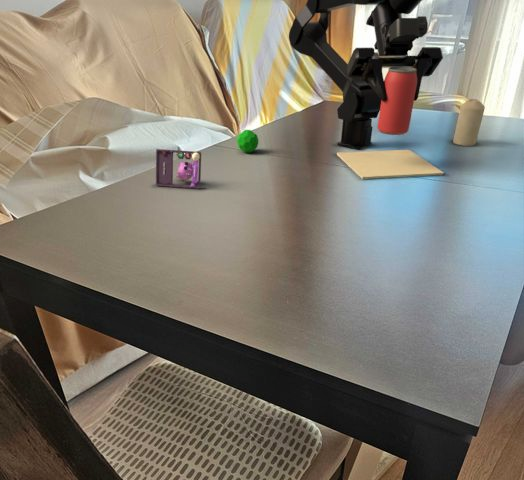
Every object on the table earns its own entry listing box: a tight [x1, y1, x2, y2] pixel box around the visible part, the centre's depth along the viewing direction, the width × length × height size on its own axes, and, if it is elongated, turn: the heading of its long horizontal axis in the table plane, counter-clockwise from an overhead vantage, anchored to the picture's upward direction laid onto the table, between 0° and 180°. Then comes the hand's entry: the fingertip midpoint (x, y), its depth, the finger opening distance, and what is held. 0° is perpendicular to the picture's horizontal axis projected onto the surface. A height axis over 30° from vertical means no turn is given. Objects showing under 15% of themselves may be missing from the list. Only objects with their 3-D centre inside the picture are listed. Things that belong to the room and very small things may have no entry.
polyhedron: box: [236, 129, 259, 154], centre depth 119 cm, size 5×5×5 cm
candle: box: [452, 98, 486, 147], centre depth 125 cm, size 6×6×10 cm
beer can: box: [376, 67, 417, 136], centre depth 105 cm, size 7×7×12 cm
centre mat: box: [336, 149, 445, 180], centre depth 113 cm, size 18×18×1 cm
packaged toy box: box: [155, 148, 202, 189], centre depth 100 cm, size 7×5×9 cm
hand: (400, 99), depth 103 cm, fingers closed on beer can, 6 cm apart
